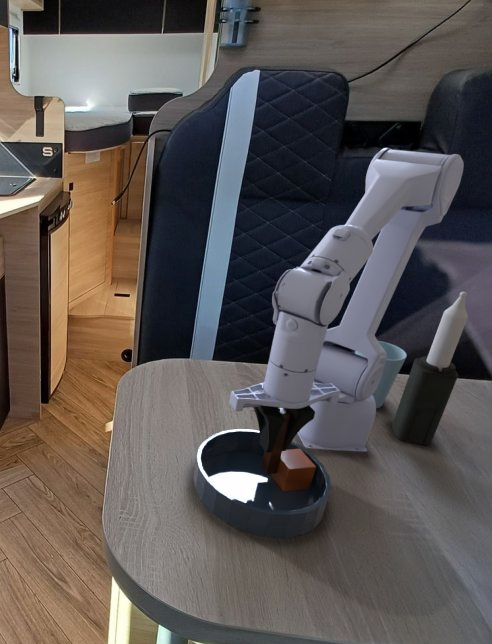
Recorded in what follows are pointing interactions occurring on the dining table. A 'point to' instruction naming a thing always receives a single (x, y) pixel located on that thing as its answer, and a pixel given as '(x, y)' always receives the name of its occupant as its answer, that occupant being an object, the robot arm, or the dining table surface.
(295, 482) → the block
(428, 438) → the candle
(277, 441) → the stick
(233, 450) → the bowl
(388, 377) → the cup
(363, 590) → the dining table surface
